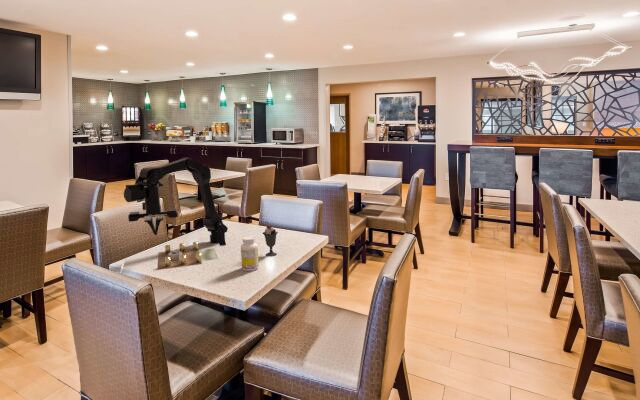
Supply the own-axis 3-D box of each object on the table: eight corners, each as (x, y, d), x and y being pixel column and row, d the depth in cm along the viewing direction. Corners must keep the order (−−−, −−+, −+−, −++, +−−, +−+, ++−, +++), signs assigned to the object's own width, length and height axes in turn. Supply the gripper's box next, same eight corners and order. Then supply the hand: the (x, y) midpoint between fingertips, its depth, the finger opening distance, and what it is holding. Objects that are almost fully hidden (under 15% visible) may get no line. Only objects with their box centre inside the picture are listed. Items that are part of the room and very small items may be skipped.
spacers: (198, 248, 185) (197, 241, 184) (201, 262, 166) (201, 254, 166) (165, 252, 180) (164, 245, 179) (165, 267, 161) (164, 258, 161)
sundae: (263, 252, 182) (262, 220, 179) (278, 251, 182) (277, 219, 179) (263, 257, 175) (261, 223, 172) (278, 256, 176) (277, 223, 173)
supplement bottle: (250, 264, 166) (248, 234, 164) (262, 267, 162) (260, 237, 160) (238, 269, 161) (236, 238, 158) (250, 272, 157) (248, 241, 155)
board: (213, 248, 189) (213, 245, 189) (219, 264, 167) (219, 261, 167) (158, 254, 181) (158, 252, 181) (157, 272, 159) (157, 269, 159)
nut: (182, 255, 175) (181, 249, 175) (182, 259, 171) (182, 253, 170) (168, 257, 173) (167, 251, 173) (168, 261, 169) (167, 255, 168)
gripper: (175, 193, 175) (178, 227, 178) (128, 196, 169) (132, 232, 172) (176, 197, 165) (179, 234, 168) (126, 201, 159) (130, 239, 162)
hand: (155, 234), depth 168 cm, fingers closed
